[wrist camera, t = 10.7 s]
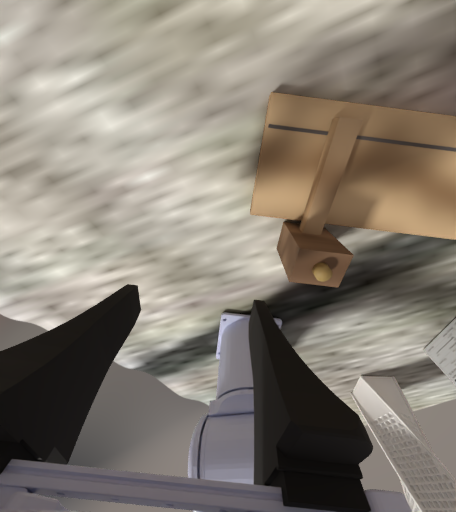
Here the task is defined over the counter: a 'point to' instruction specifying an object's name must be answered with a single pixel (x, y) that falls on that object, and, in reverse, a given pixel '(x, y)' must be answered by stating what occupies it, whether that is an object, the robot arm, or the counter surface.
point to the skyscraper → (405, 445)
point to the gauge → (320, 216)
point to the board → (361, 166)
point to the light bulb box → (445, 351)
